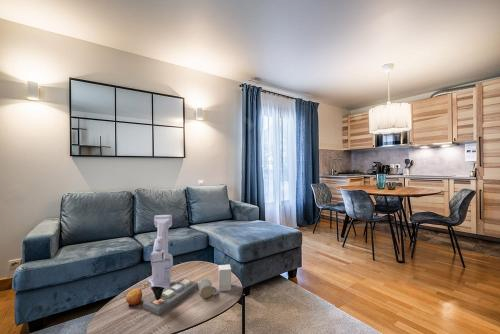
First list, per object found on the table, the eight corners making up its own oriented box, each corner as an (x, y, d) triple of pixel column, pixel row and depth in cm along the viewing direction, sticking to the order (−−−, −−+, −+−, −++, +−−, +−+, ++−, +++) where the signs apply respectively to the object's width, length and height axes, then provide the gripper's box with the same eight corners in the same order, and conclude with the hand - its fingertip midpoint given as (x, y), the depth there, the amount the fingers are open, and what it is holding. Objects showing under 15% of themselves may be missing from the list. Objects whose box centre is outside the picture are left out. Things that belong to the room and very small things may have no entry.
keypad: (142, 308, 120) (142, 302, 120) (183, 283, 145) (183, 278, 145) (158, 315, 114) (158, 309, 114) (198, 287, 139) (198, 283, 139)
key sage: (162, 296, 126) (162, 293, 126) (168, 292, 130) (168, 289, 130) (167, 298, 124) (167, 295, 124) (174, 294, 128) (174, 291, 128)
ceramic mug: (200, 300, 127) (200, 286, 127) (198, 292, 134) (198, 279, 134) (219, 296, 131) (219, 283, 130) (216, 289, 138) (216, 276, 138)
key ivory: (179, 285, 137) (179, 282, 137) (185, 282, 141) (185, 279, 141) (185, 287, 135) (185, 284, 135) (190, 284, 139) (190, 280, 139)
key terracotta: (151, 306, 120) (151, 302, 120) (158, 301, 124) (158, 297, 124) (157, 308, 118) (157, 304, 118) (164, 303, 122) (164, 300, 122)
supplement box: (231, 290, 137) (231, 269, 136) (218, 291, 135) (218, 270, 135) (230, 284, 144) (230, 263, 144) (218, 285, 143) (218, 264, 142)
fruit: (148, 295, 129) (142, 287, 125) (139, 310, 123) (132, 301, 119) (137, 293, 132) (131, 284, 128) (127, 307, 125) (120, 298, 121)
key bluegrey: (171, 290, 131) (171, 287, 131) (177, 287, 135) (177, 283, 135) (176, 292, 129) (176, 289, 129) (182, 289, 133) (182, 285, 133)
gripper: (142, 273, 121) (142, 299, 121) (161, 280, 114) (161, 307, 114) (153, 268, 127) (153, 292, 127) (172, 274, 120) (172, 300, 120)
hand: (158, 299), depth 121 cm, fingers closed
